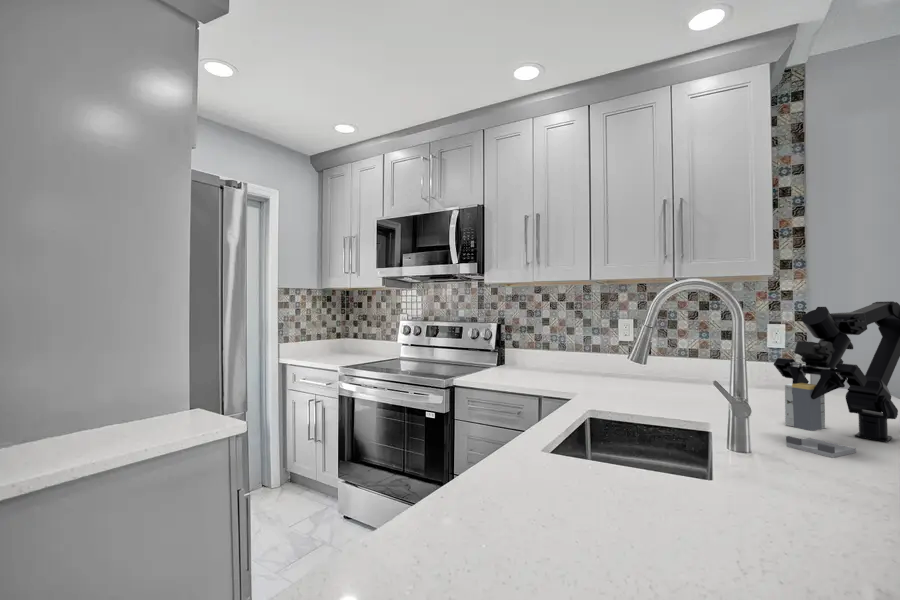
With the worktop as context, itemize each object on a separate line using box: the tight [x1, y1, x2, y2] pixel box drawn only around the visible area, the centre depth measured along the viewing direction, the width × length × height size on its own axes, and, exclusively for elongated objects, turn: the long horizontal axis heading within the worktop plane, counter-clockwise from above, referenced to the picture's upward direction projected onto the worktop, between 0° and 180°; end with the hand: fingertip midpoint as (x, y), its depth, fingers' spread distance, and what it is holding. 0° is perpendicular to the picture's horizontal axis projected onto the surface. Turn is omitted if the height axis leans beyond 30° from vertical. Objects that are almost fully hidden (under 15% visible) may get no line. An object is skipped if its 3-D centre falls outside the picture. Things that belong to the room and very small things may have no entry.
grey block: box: [791, 383, 822, 432], centre depth 112 cm, size 4×4×11 cm
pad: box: [785, 435, 857, 459], centre depth 111 cm, size 10×10×2 cm
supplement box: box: [784, 383, 826, 432], centre depth 133 cm, size 7×7×13 cm
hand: (802, 396), depth 112 cm, fingers closed on grey block, 4 cm apart
